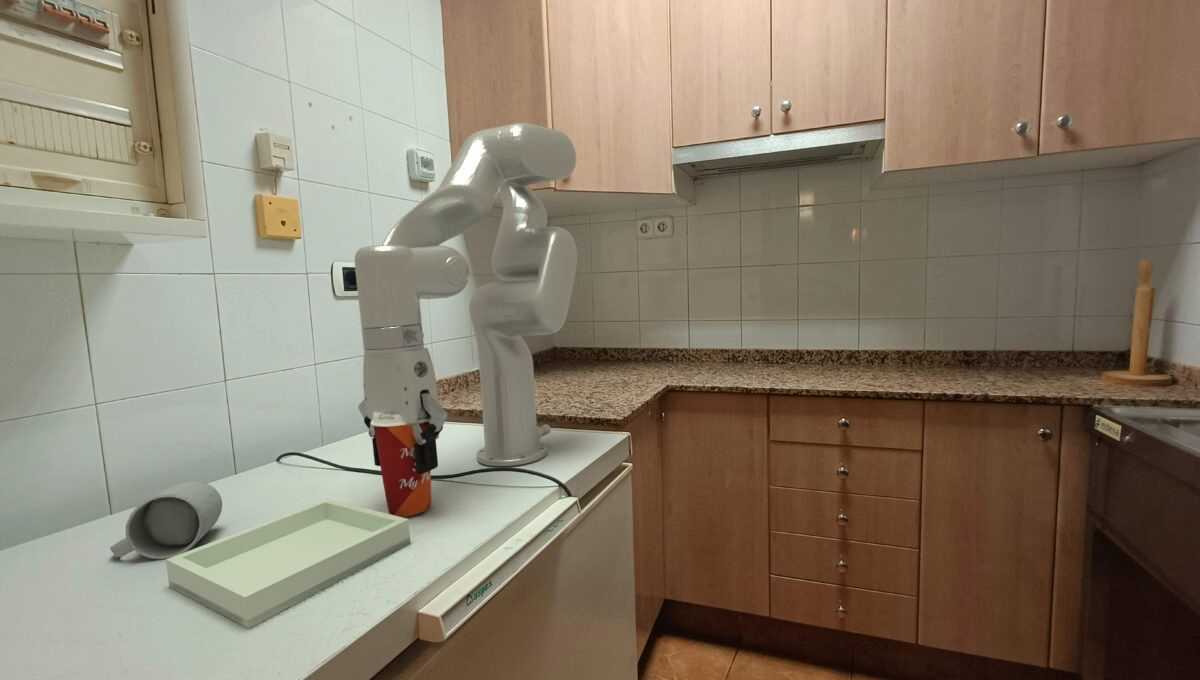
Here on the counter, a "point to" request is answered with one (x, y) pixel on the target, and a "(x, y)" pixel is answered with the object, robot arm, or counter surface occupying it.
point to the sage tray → (285, 559)
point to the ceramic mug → (171, 521)
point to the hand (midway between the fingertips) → (406, 466)
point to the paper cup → (400, 466)
